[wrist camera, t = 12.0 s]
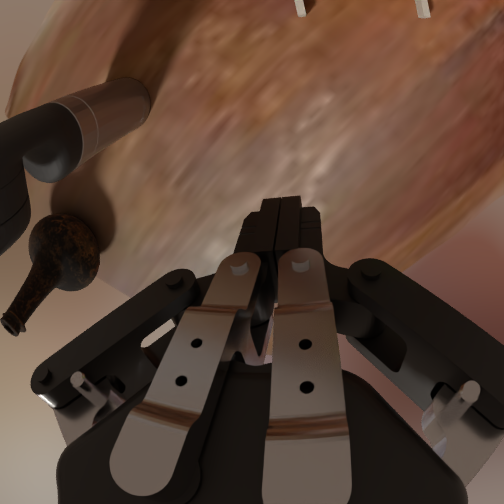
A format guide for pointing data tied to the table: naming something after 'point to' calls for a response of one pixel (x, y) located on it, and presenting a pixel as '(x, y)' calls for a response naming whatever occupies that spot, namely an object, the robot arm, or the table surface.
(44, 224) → the glass bottle
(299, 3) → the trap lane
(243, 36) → the table surface
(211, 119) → the table surface
